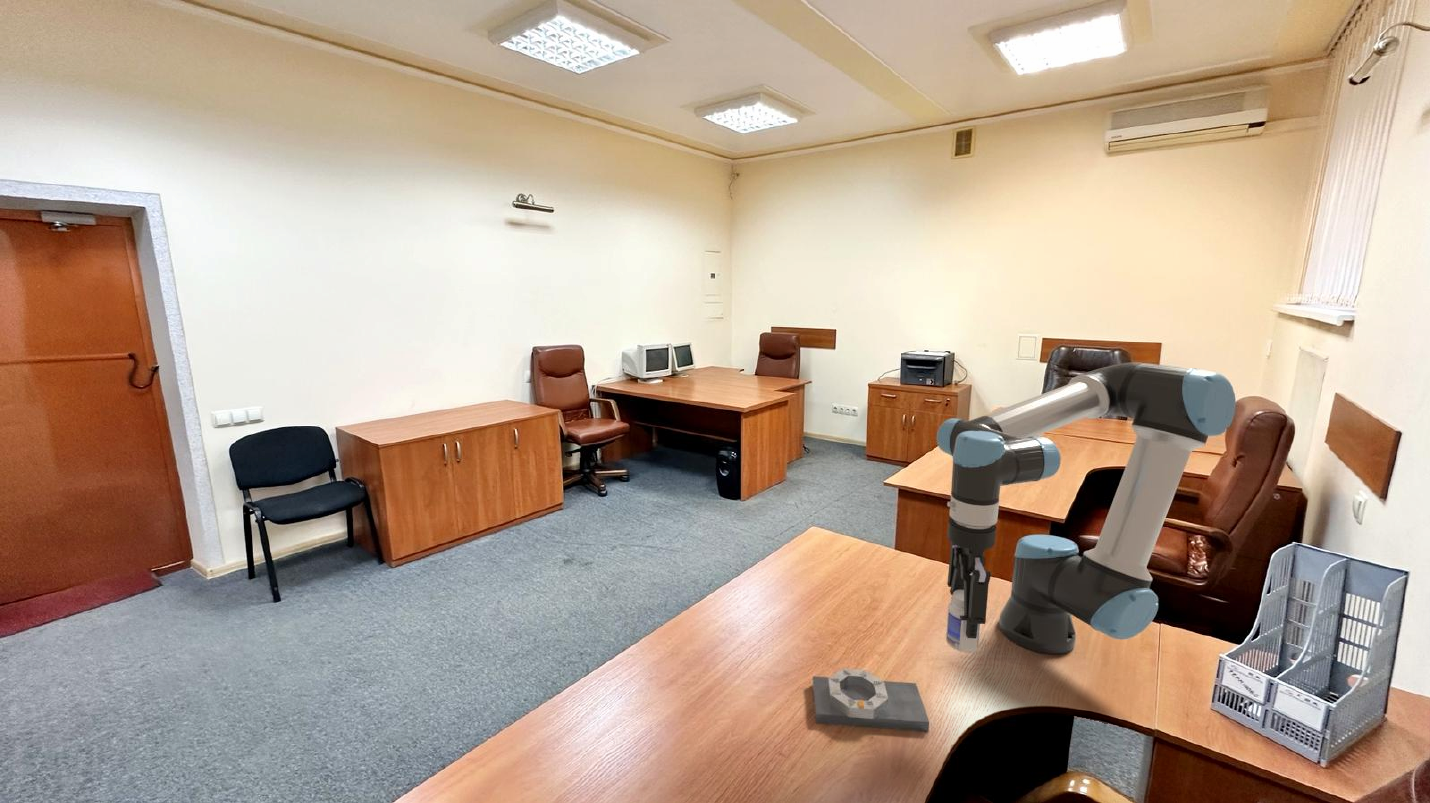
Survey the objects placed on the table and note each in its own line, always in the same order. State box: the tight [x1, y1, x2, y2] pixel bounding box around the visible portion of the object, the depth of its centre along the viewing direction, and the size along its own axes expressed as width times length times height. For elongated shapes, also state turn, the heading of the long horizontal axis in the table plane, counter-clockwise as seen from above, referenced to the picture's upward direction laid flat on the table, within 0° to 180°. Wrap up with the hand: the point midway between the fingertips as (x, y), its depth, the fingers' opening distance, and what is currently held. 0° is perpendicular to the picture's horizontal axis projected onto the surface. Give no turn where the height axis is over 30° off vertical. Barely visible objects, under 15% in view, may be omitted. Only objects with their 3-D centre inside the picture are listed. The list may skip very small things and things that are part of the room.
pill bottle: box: [945, 590, 981, 652], centre depth 100 cm, size 5×5×10 cm
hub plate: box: [812, 668, 930, 733], centre depth 106 cm, size 20×10×4 cm, turn 84°
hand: (961, 639), depth 101 cm, fingers closed on pill bottle, 5 cm apart
